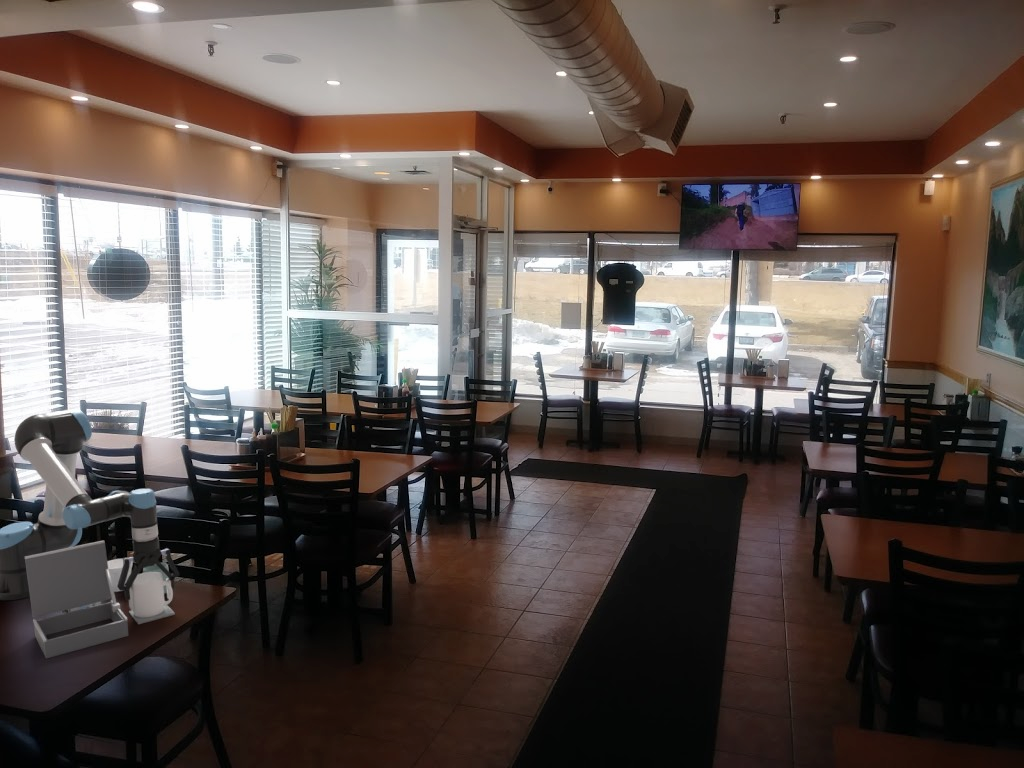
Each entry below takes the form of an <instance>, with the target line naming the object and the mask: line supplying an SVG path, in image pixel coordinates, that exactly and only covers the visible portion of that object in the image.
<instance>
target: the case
mask: <svg viewBox="0 0 1024 768" xmlns="http://www.w3.org/2000/svg"><path fill="white" fill-rule="evenodd" d="M105 571H106V576H107V580H108V584H109V589H110V593H111V597H112V599H110V601H109V602H106V603H101V605H97V606H93V607H88V608H84V609H80V610H76V611H72V612H68V613H64V614H62V613H61V614H57V615H52V616H49V617H46V618H45V617H44V618H41V619H37V620H36V618H33V619H32V622H33V627H34V628H33V629H34V637H35V639H36V641H37V643H38V645H39V647H40V649H41V651H42V653H43V655H44V657H45V659H49V658H53V657H57V656H61V655H64V654H67V653H72V652H74V651H78V650H82V649H86V648H89V647H90V648H91V647H93V646H96V645H100V644H103V643H107V642H111V641H114V640H118V639H121V638H122V639H123V638H125V637H129V628H128V627H129V626H128V617H127V616H126V615H125V613H124V612H123V611H122V610H121V604H120V603H119V602H117V599H116V594H115V592H114V590H113V586H112V581H111V577H110V573H109V569H106V570H105ZM110 619H111V620H112V622H110V623H107V624H101V625H98V626H95V627H91V628H88V629H83V630H81V631H76V632H73V633H69V634H65V635H61V636H56V637H54V638H49V639H48V638H47V636H48V635H52V634H56V633H60V632H65V631H68V630H71V629H75V628H79V627H82V626H86V625H90V624H91V625H92V624H94V623H97V622H99V623H100V622H103V621H106V620H110Z"/></svg>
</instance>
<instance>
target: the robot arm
mask: <svg viewBox="0 0 1024 768" xmlns="http://www.w3.org/2000/svg"><path fill="white" fill-rule="evenodd" d="M91 438H92V425H91V423H90V420H89V417H88V416H87V415H86V414H85V412H83V411H82V410H81V409H79V408H74V409H73V408H71V409H64V410H60V411H59V410H58V411H53V412H46V413H41V414H39V413H38V414H34V415H33V414H32V415H31V416H28V417H26V418H25V419H24V420H22V421H21V422H20V424H19V425H18V426H17V429H16V430H15V433H14V446H15V449H16V451H17V453H18V455H19V456H20V457H21V459H22V460H23V461H25V462H29V463H30V465H31V466H32V468H34V470H35V471H36V472H37V474H38V475H39V476H40V478H41V479H42V481H44V483H45V493H44V504H43V505H44V506H43V507H44V508H43V511H40V513H39V514H38V519H37V522H36V523H33V522H31V521H26V520H25V521H20V522H13V523H10V524H8V525H6V526H3V527H2V528H0V601H14V600H16V601H17V600H21V599H25V598H26V599H27V598H30V592H29V585H28V577H27V569H26V562H25V556H30V555H35V554H40V553H45V552H50V551H55V550H60V549H64V548H69V547H74V546H77V545H78V543H79V542H80V540H81V539H82V535H83V529H84V528H87V527H90V526H93V525H97V524H100V523H103V522H108V521H111V520H115V519H118V518H122V517H126V518H129V519H130V523H131V525H130V526H131V536H132V539H133V540H132V547H133V553H132V554H133V555H132V556H130V557H123V558H122V559H123V568H122V572H121V575H120V579H119V582H118V586H117V587H118V588H119V590H124V591H123V592H124V598H125V600H126V601H128V607H129V609H130V611H132V610H134V602H133V591H132V589H131V586H132V584H133V582H134V580H135V579H136V577H137V575H138V574H140V572H141V571H142V570H143V568H145V567H148V566H154V565H155V564H156V565H157V566H158V567H159V568H160V569H161V570H162V571H163V572H164V573H165V574H166V575H167V576H168V577H169V579H168V578H167V579H166V582H168V583H169V584H170V585H171V587H172V590H173V589H175V578H178V577H180V572H179V570H178V568H177V566H176V565H175V563H174V560H173V557H172V556H171V555H172V554H171V553H172V552H171V549H169V548H168V547H166V548H164V549H162V550H161V549H160V540H159V536H158V535H159V529H158V515H157V514H158V513H157V512H158V511H157V500H156V495H155V491H154V490H153V489H152V488H138V489H135V490H134V489H133V490H131V491H130V492H129V491H127V490H119V489H118V490H113V491H111V492H110V493H109V494H108V495H106V496H102V497H98V498H95V499H92V498H91V496H90V495H89V494H88V492H86V490H85V488H84V487H83V486H82V484H81V483H80V482H79V481H78V480H77V479H76V467H77V459H78V456H77V455H78V454H79V453H81V451H82V450H83V446H84V445H83V444H84V442H85V443H86V442H88V441H89V440H90V439H91ZM161 555H162V556H163V557H165V560H166V561H167V563H168V566H169V567H170V570H171V571H172V573H171V572H170V571H168V570H167V569H166V568H165V567H164V566H163V565H162V564H161V563H162V562H160V561H159V560H160V557H161ZM133 562H135V564H134V566H133V569H131V574H130V576H129V578H128V580H127V581H126V578H127V574H128V570H129V565H130V564H131V563H133ZM125 581H126V583H125ZM166 588H167V593H166V598H167V600H169V598H170V589H169V587H168V586H167V585H166Z"/></svg>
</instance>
